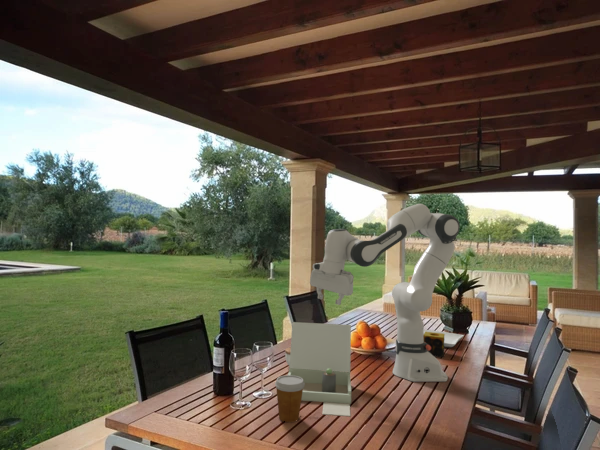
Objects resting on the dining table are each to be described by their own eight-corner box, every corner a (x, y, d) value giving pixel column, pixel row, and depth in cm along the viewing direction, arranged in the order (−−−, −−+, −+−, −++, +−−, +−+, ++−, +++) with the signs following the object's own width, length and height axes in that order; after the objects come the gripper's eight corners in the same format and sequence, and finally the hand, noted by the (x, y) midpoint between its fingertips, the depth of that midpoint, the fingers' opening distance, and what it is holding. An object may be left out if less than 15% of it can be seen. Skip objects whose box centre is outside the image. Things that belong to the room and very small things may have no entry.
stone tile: (349, 406, 136) (349, 404, 136) (350, 418, 127) (350, 415, 127) (323, 404, 137) (323, 402, 137) (322, 416, 128) (322, 413, 128)
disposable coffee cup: (281, 409, 133) (282, 372, 133) (308, 414, 129) (309, 377, 129) (268, 421, 124) (269, 382, 124) (296, 427, 120) (297, 387, 121)
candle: (422, 355, 201) (422, 335, 202) (424, 350, 211) (424, 331, 211) (443, 357, 198) (443, 337, 198) (444, 352, 207) (444, 333, 207)
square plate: (464, 340, 235) (464, 334, 235) (454, 351, 212) (454, 343, 212) (418, 333, 249) (418, 327, 249) (404, 342, 226) (404, 336, 226)
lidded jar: (306, 372, 170) (307, 350, 170) (282, 370, 172) (282, 348, 173) (310, 364, 181) (311, 344, 181) (287, 362, 183) (288, 342, 183)
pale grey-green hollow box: (349, 380, 162) (350, 324, 162) (351, 405, 137) (352, 339, 138) (291, 376, 164) (292, 321, 165) (282, 400, 140) (284, 335, 141)
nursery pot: (335, 391, 148) (336, 366, 149) (335, 396, 143) (336, 371, 144) (322, 390, 149) (322, 365, 149) (321, 395, 144) (322, 370, 144)
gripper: (358, 272, 157) (354, 307, 157) (319, 263, 171) (315, 295, 171) (349, 272, 152) (344, 308, 152) (309, 263, 166) (305, 296, 167)
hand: (328, 301), depth 162 cm, fingers open, 8 cm apart
